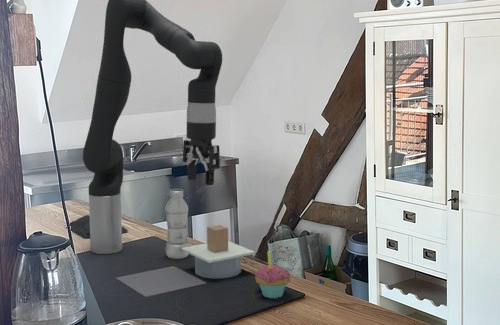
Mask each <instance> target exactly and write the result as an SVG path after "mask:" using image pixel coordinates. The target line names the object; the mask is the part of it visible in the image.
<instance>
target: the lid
mask: <svg viewBox="0 0 500 325" xmlns="http://www.w3.org/2000/svg"><path fill="white" fill-rule="evenodd" d="M206 228H207V229H206V236H207V237H206V243H203V244H202V243H200V244H195V245H189V247H184V248H181V250H182V251H184V252H187V253H189V255H190V256H193V257H194V258H195V257H197V258H200V259H202V260H204V261H206V262H208V263H212V262H217V261H222V260H227V259H232V258H237V257H241V258H242V257H244V256H245V257H246V256H251V255H255V253H256V252H255V251H254V250H251V249H249V248H247V247H244V246H241V245H239V244H237V243H234V242H232V241H229V228H228V227H226V226H223V225H220V224H217V225H213V226H207V227H206Z"/></svg>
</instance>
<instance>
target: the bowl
mask: <svg viewBox="0 0 500 325" xmlns="http://www.w3.org/2000/svg"><path fill="white" fill-rule="evenodd" d="M241 264H242V256H241V257H237V258H232V259H227V260H222V261H217V262H212V263H208V262H206V261H204V260H202V259H200V258H197V257H195V256H194V271H195V272H194V273H195V275H197V276H199V277H200V278H206V279H214V280H215V279H227V278H228V279H229V278H232V277H235V276H236V277H237V276H238V275H239V274H241V273H242V265H241Z"/></svg>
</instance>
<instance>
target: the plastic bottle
mask: <svg viewBox="0 0 500 325" xmlns="http://www.w3.org/2000/svg"><path fill="white" fill-rule="evenodd" d="M164 211H165V216H166V226H167V238H166V239H167V242H166V244H165V245H166V247H165V252H166V256H167V258H169V259H172V260H182V259H186V258H188V256H189V255H190V254H189V253H187V252H184V251H182V250H181V248H184V247H189V246H190V245H189V241H188V234H187V230H188V228H187V227H188V226H187V225H188V216H189V206H188V204H187V202H186V201H185V199H184V189H182V188H173V189H170V190H169V200H168V201H167V203H166V205H165V208H164Z"/></svg>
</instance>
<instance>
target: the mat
mask: <svg viewBox="0 0 500 325" xmlns="http://www.w3.org/2000/svg"><path fill="white" fill-rule="evenodd" d="M115 279H117V280H118V281H119V282H121V283H123V284H124V285H126V286H128V288H131V289H132V290H134V291H135V292H137V293H139V294H140V295H142V296H144V297H146V298H147V297H152V296H156V295H160V294H164V293H165V294H166V293H169V292H174V291H177V290H178V291H179V290H184V289H188V288H191V287H195V286H200V285H204V284H207V282H206V281H204V280H202V279H200V278H198V277H197V276H194V275H192V274H190V273H188V272H187V271H185V270H183V269H181V268H179V267H176V266H174V265H172V266H169V267H168V266H167V267H162V268H157V269H151V270H147V271H142V272H138V273H132V274H128V275H127V274H126V275H123V276H118V277H115Z"/></svg>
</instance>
